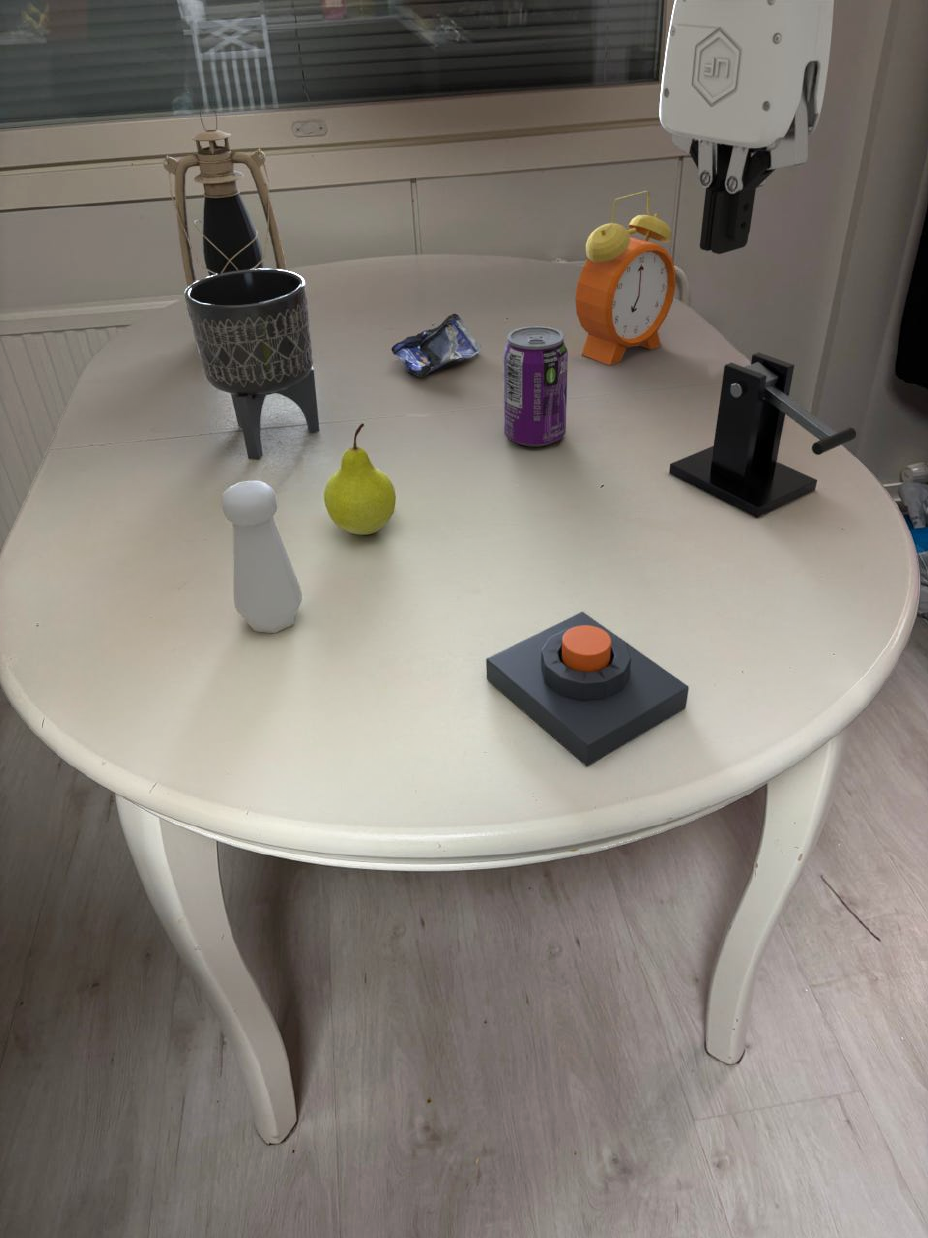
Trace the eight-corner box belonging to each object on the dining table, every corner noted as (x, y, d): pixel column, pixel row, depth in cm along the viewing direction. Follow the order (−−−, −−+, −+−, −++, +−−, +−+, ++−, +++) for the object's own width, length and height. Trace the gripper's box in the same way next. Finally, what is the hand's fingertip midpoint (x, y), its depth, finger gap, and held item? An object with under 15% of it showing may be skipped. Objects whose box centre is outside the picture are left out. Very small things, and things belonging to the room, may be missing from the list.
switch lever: (850, 446, 88) (861, 426, 86) (816, 462, 85) (827, 442, 84) (759, 378, 93) (767, 357, 92) (724, 391, 91) (733, 370, 89)
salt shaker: (249, 647, 78) (219, 514, 70) (231, 612, 82) (200, 483, 74) (315, 626, 80) (292, 494, 72) (293, 593, 84) (270, 465, 76)
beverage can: (567, 450, 105) (571, 346, 97) (504, 452, 105) (503, 349, 98) (563, 422, 110) (566, 323, 103) (503, 424, 110) (502, 325, 103)
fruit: (316, 527, 93) (299, 416, 86) (373, 504, 96) (361, 396, 89) (353, 555, 89) (337, 441, 82) (411, 531, 92) (401, 419, 85)
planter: (305, 466, 104) (280, 308, 93) (198, 459, 106) (162, 304, 96) (340, 416, 114) (321, 269, 103) (241, 411, 116) (213, 266, 106)
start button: (619, 660, 69) (621, 642, 68) (583, 679, 68) (584, 661, 67) (587, 637, 72) (588, 619, 71) (552, 655, 70) (552, 637, 69)
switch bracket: (815, 490, 95) (841, 371, 88) (756, 518, 91) (778, 396, 84) (726, 449, 103) (742, 336, 96) (668, 473, 99) (680, 358, 92)
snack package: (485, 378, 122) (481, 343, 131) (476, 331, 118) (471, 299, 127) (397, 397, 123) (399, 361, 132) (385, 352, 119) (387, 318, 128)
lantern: (194, 351, 134) (143, 117, 116) (201, 323, 143) (154, 103, 125) (296, 341, 135) (260, 110, 117) (295, 314, 144) (263, 96, 126)
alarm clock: (604, 369, 122) (613, 209, 110) (572, 357, 126) (577, 200, 114) (671, 343, 129) (687, 189, 117) (638, 332, 133) (650, 181, 121)
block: (686, 708, 70) (692, 668, 68) (586, 767, 66) (589, 726, 63) (581, 631, 78) (583, 593, 76) (486, 679, 74) (485, 640, 71)
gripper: (628, -70, 58) (611, 237, 69) (830, -76, 48) (773, 284, 59) (711, -75, 61) (682, 218, 72) (916, -82, 51) (846, 260, 62)
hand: (723, 247), depth 66 cm, fingers closed
